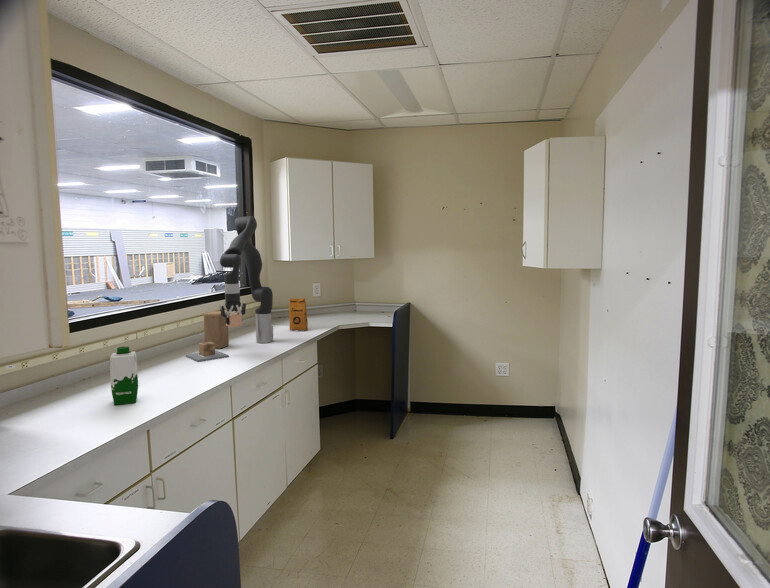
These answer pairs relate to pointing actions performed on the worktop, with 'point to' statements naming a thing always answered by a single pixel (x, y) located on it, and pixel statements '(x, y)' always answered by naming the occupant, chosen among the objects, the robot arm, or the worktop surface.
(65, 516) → the worktop surface
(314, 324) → the worktop surface
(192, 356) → the slate mat
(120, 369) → the milk carton
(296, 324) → the coffee package
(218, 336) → the wooden block
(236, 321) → the terracotta cube
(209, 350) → the walnut cube
